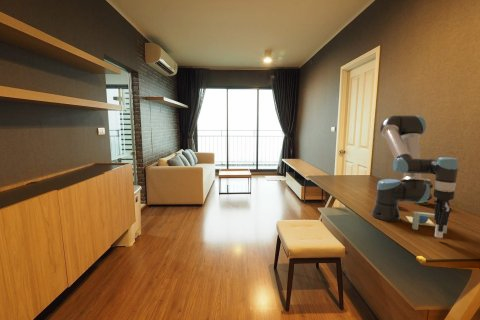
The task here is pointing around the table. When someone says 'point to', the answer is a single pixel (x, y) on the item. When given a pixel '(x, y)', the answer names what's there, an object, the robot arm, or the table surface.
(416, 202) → the robot arm
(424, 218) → the ball
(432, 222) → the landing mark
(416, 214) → the bridge
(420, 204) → the apothecary jar
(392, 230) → the table surface
